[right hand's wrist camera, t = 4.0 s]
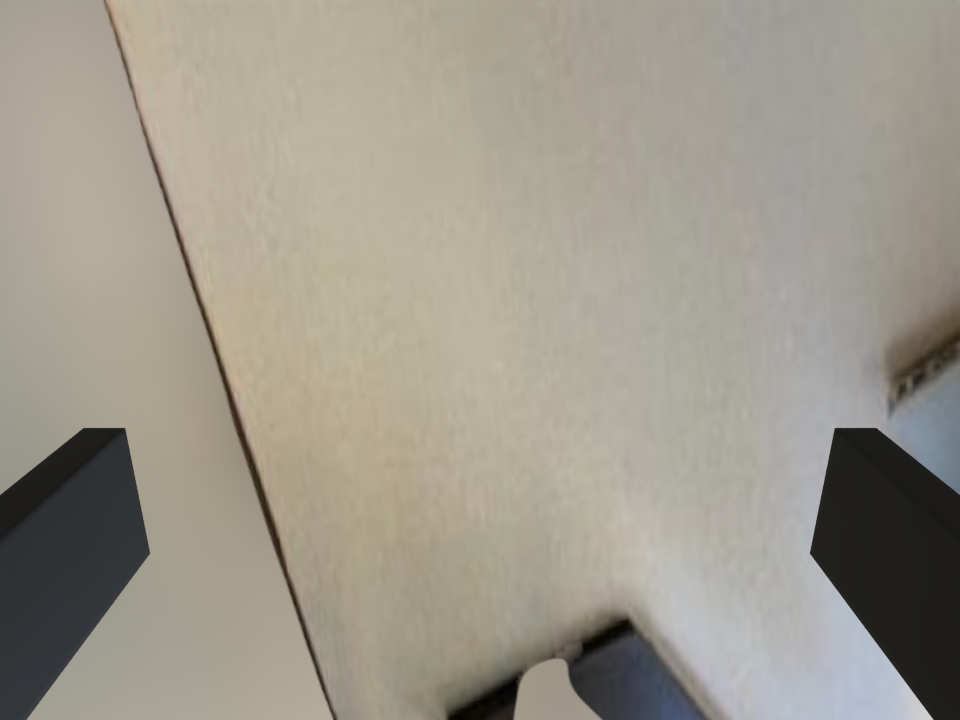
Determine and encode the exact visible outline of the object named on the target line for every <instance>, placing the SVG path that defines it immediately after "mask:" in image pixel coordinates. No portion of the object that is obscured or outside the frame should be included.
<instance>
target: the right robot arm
mask: <svg viewBox="0 0 960 720" xmlns="http://www.w3.org/2000/svg"><path fill="white" fill-rule="evenodd" d="M149 554H150V551H149V546H148V541H147V536H146V531H145V526H144V521H143V516H142V510H141V505H140V501H139V495H138V490H137V485H136V480H135V476H134V470H133V465H132V460H131V455H130V450H129V445H128V440H127V435H126V430H125V428H83V429H82V430H81V431H79V432H78V433H77V434H76V435H75V436H73V437H72V438H71V439H69V440H68V441H67V442H66V443H65V444H63V445H62V446H61V447H60V448H58V449H57V450H56V451H55V452H53V453H52V454H51V455H50V456H48V457H47V458H46V459H45V460H43V461H42V462H41V463H40V464H38V465H37V466H36V467H35V468H33V469H32V470H31V471H30V472H28V473H27V474H26V475H25V476H23V477H22V478H21V479H20V480H18V481H17V482H16V483H15V484H13V485H12V486H11V487H10V488H9V489H7V490H6V491H5V492H4V493H2V494H1V495H0V720H27V718H28V717H29V715H30V714H31V713H32V711H33V710H34V709H35V707H36V706H37V705H38V703H39V702H40V701H41V699H42V698H43V697H44V695H45V694H46V693H47V691H48V690H49V689H50V687H51V686H52V685H53V683H54V682H55V681H56V679H57V678H58V676H59V675H60V674H61V672H62V671H63V670H64V668H65V667H66V666H67V664H68V663H69V662H70V660H71V659H72V658H73V656H74V655H75V654H76V652H77V651H78V650H79V648H80V647H81V646H82V644H83V643H84V642H85V640H86V639H87V637H88V636H89V635H90V633H91V632H92V631H93V629H94V628H95V627H96V625H97V624H98V623H99V621H100V620H101V619H102V617H103V616H104V615H105V613H106V612H107V611H108V609H109V608H110V607H111V605H112V604H113V603H114V601H115V600H116V599H117V597H118V596H119V594H120V593H121V592H122V590H123V589H124V588H125V586H126V585H127V584H128V582H129V581H130V580H131V578H132V577H133V576H134V574H135V573H136V572H137V570H138V569H139V568H140V566H141V565H142V564H143V562H144V561H145V559H146V558H147V557H148V556H149ZM810 554H811V556H812V557H813V558H814V560H815V561H816V562H817V564H818V565H819V566H820V568H821V569H822V570H823V572H824V573H825V574H826V576H827V577H828V578H829V580H830V581H831V582H832V584H833V585H834V586H835V588H836V589H837V590H838V592H839V593H840V595H841V596H842V597H843V599H844V600H845V601H846V603H847V604H848V605H849V607H850V608H851V609H852V611H853V612H854V613H855V615H856V616H857V617H858V619H859V620H860V621H861V623H862V624H863V625H864V627H865V628H866V629H867V631H868V632H869V633H870V635H871V636H872V638H873V639H874V640H875V642H876V643H877V644H878V646H879V647H880V648H881V650H882V651H883V652H884V654H885V655H886V656H887V658H888V659H889V660H890V662H891V663H892V664H893V666H894V667H895V668H896V670H897V671H898V672H899V674H900V675H901V677H902V678H903V679H904V681H905V682H906V683H907V685H908V686H909V687H910V689H911V690H912V691H913V693H914V694H915V695H916V697H917V698H918V699H919V701H920V702H921V703H922V705H923V706H924V707H925V709H926V710H927V711H928V713H929V714H930V716H931V717H932V718H933V720H960V495H959V494H958V493H956V492H955V491H954V490H953V489H952V488H950V487H949V486H948V485H947V484H945V483H944V482H943V481H942V480H940V479H939V478H938V477H937V476H935V475H934V474H933V473H932V472H930V471H929V470H928V469H927V468H925V467H924V466H923V465H922V464H920V463H919V462H918V461H917V460H915V459H914V458H913V457H912V456H910V455H909V454H908V453H907V452H905V451H904V450H903V449H902V448H900V447H899V446H898V445H897V444H895V443H894V442H893V441H892V440H891V439H889V438H888V437H887V436H886V435H884V434H883V433H882V432H881V431H879V430H878V429H877V428H835V430H834V435H833V440H832V445H831V450H830V455H829V460H828V465H827V470H826V475H825V480H824V485H823V490H822V495H821V500H820V505H819V510H818V516H817V521H816V526H815V531H814V536H813V541H812V546H811V551H810Z"/></svg>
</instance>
